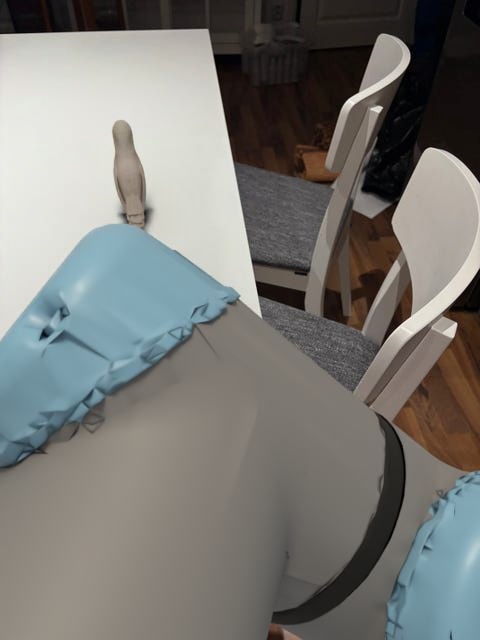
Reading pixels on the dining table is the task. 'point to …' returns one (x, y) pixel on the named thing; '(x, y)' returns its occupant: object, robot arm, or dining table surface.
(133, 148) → the bird
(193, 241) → the dining table surface
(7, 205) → the dining table surface
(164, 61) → the dining table surface
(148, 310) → the robot arm
